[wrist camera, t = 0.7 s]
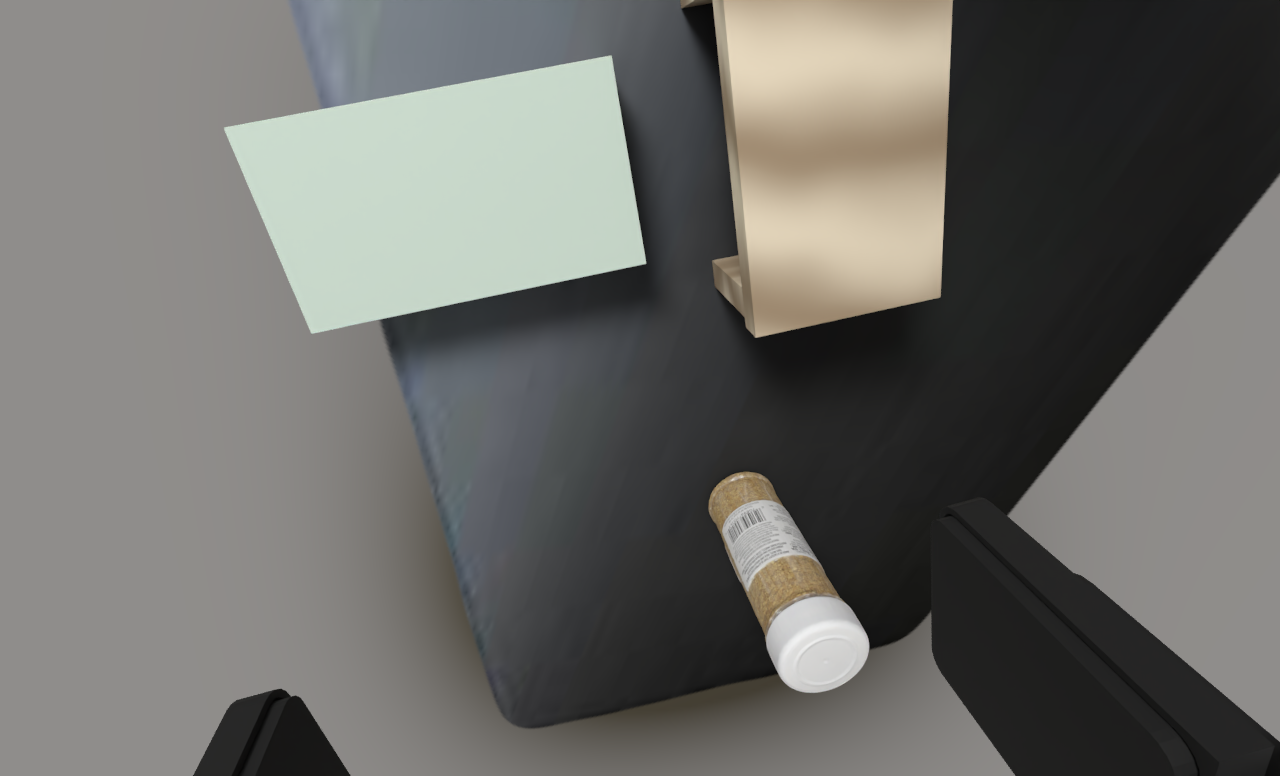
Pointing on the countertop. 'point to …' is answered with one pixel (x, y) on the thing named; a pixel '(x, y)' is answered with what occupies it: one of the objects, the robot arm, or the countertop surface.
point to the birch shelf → (833, 155)
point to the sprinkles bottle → (787, 587)
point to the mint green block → (446, 192)
